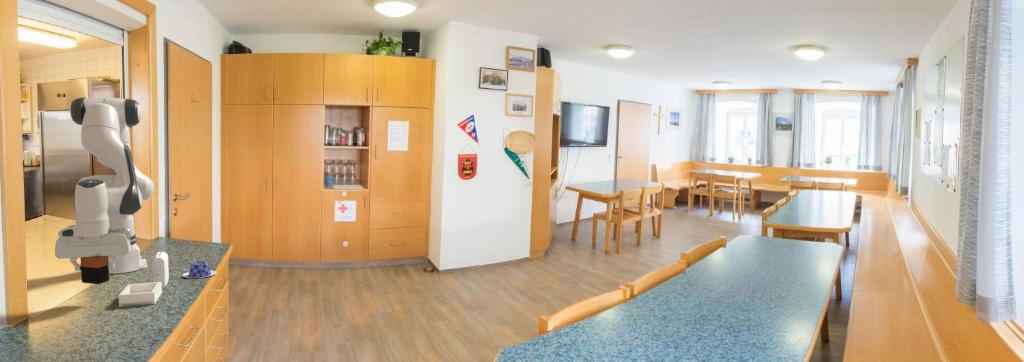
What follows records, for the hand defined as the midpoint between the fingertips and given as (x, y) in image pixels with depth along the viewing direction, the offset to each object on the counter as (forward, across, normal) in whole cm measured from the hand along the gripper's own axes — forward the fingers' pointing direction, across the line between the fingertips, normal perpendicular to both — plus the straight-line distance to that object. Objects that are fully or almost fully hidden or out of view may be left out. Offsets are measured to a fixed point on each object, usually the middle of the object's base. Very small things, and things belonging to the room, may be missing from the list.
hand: (95, 269), depth 183 cm
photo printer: (+12, -16, -16) cm, 26 cm away
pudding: (+12, -28, -27) cm, 40 cm away
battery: (+5, 0, 0) cm, 5 cm away
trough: (+11, -13, +2) cm, 17 cm away
